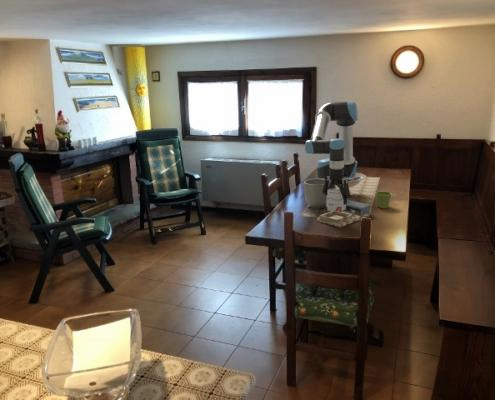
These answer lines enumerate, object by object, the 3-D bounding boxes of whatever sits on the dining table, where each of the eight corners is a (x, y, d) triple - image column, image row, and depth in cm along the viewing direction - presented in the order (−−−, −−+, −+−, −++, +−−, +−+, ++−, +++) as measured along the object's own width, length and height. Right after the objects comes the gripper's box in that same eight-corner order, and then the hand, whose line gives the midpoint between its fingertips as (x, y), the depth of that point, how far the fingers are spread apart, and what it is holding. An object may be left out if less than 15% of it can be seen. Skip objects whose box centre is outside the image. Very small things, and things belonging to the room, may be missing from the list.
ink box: (344, 209, 227) (344, 188, 224) (343, 211, 223) (343, 190, 219) (328, 208, 230) (328, 187, 227) (327, 210, 226) (327, 189, 222)
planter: (314, 201, 267) (314, 177, 263) (337, 205, 255) (337, 180, 251) (298, 207, 256) (297, 182, 251) (320, 212, 244) (320, 186, 239)
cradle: (340, 227, 218) (340, 219, 217) (316, 220, 230) (316, 213, 229) (370, 215, 236) (370, 207, 234) (347, 209, 247) (347, 202, 246)
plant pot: (372, 205, 253) (373, 191, 251) (387, 204, 254) (388, 190, 251) (378, 209, 244) (379, 195, 242) (393, 208, 245) (394, 194, 243)
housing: (362, 215, 231) (362, 207, 230) (340, 209, 242) (340, 202, 241) (369, 212, 236) (370, 204, 234) (347, 207, 247) (348, 200, 245)
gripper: (315, 166, 226) (315, 205, 232) (349, 171, 209) (348, 213, 216) (324, 164, 230) (324, 202, 236) (358, 169, 214) (357, 210, 220)
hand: (335, 207), depth 226 cm, fingers closed on ink box, 9 cm apart
